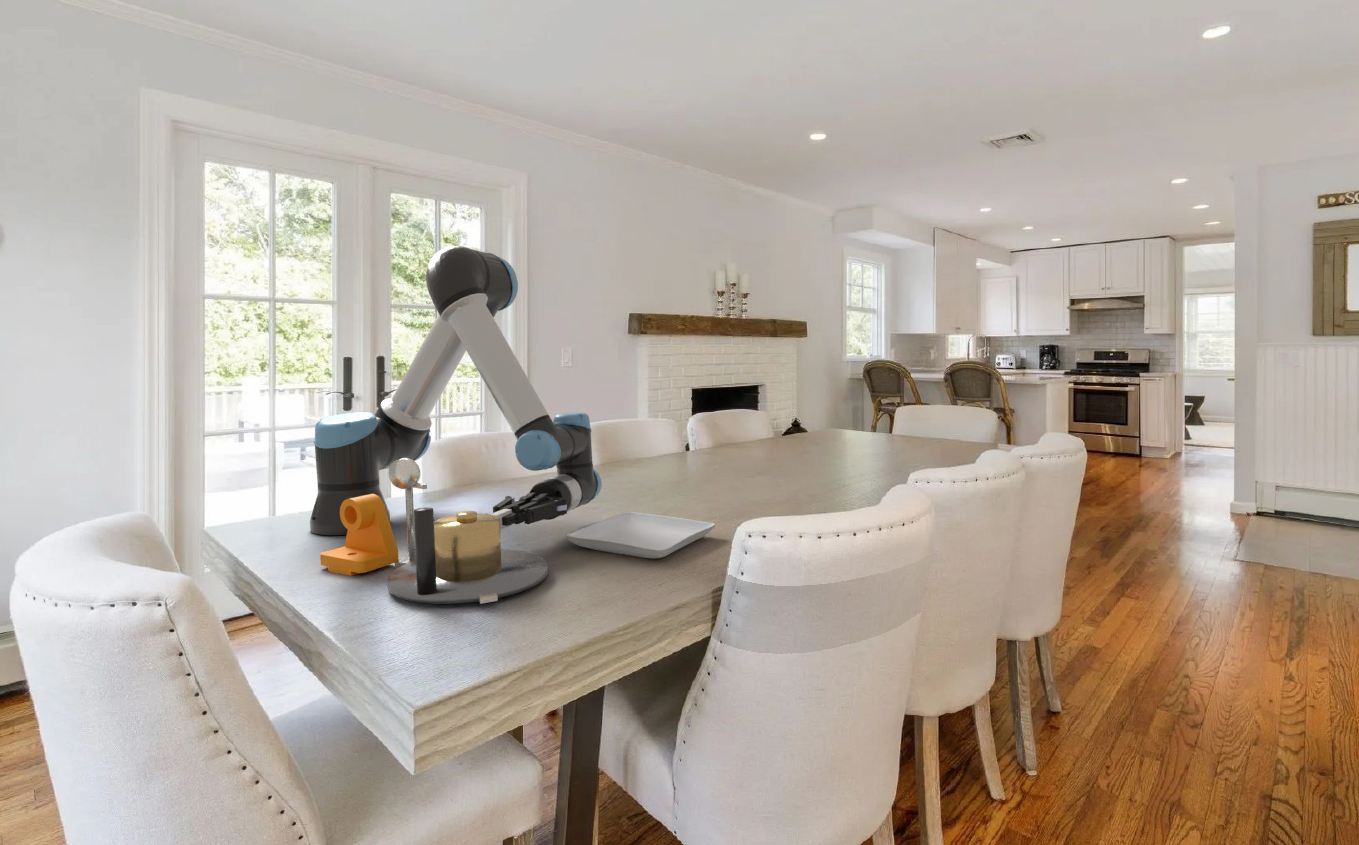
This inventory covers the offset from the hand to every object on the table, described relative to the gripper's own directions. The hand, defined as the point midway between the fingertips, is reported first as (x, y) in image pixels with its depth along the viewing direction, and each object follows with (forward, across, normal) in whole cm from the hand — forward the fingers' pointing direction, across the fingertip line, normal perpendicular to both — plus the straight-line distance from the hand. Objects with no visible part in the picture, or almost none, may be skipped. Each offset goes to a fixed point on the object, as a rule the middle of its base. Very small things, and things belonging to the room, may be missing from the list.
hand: (487, 525), depth 113 cm
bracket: (+4, +23, -8) cm, 24 cm away
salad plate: (-24, -18, -8) cm, 31 cm away
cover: (+5, 0, -6) cm, 8 cm away
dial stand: (0, +15, -8) cm, 17 cm away
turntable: (+5, 0, -8) cm, 9 cm away
